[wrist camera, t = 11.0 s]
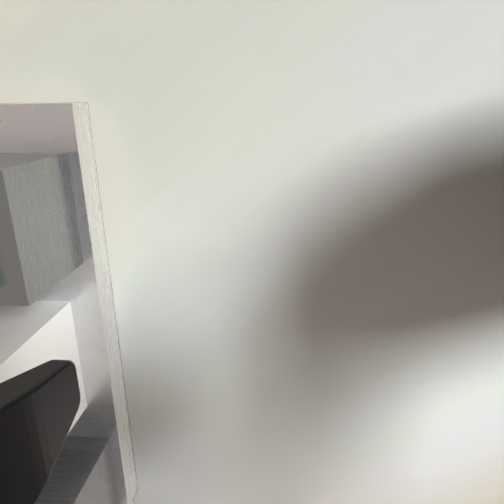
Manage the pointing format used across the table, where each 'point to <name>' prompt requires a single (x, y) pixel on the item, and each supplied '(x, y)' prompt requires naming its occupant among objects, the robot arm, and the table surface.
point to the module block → (38, 340)
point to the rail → (67, 284)
